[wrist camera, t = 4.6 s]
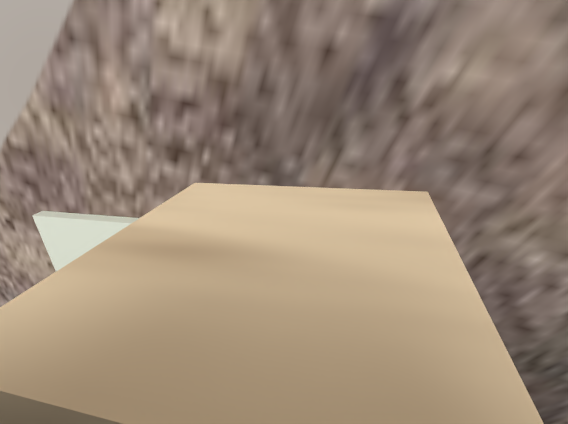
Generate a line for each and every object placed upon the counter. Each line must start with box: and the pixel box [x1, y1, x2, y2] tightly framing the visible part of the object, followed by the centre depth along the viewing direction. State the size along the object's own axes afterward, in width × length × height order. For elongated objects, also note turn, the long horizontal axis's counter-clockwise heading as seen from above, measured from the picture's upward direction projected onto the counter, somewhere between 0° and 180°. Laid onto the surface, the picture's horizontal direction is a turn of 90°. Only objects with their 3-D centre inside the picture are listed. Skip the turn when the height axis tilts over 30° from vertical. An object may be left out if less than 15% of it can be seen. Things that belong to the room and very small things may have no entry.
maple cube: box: [0, 183, 544, 424], centre depth 6 cm, size 6×6×6 cm
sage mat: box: [32, 211, 139, 271], centre depth 23 cm, size 15×15×1 cm
